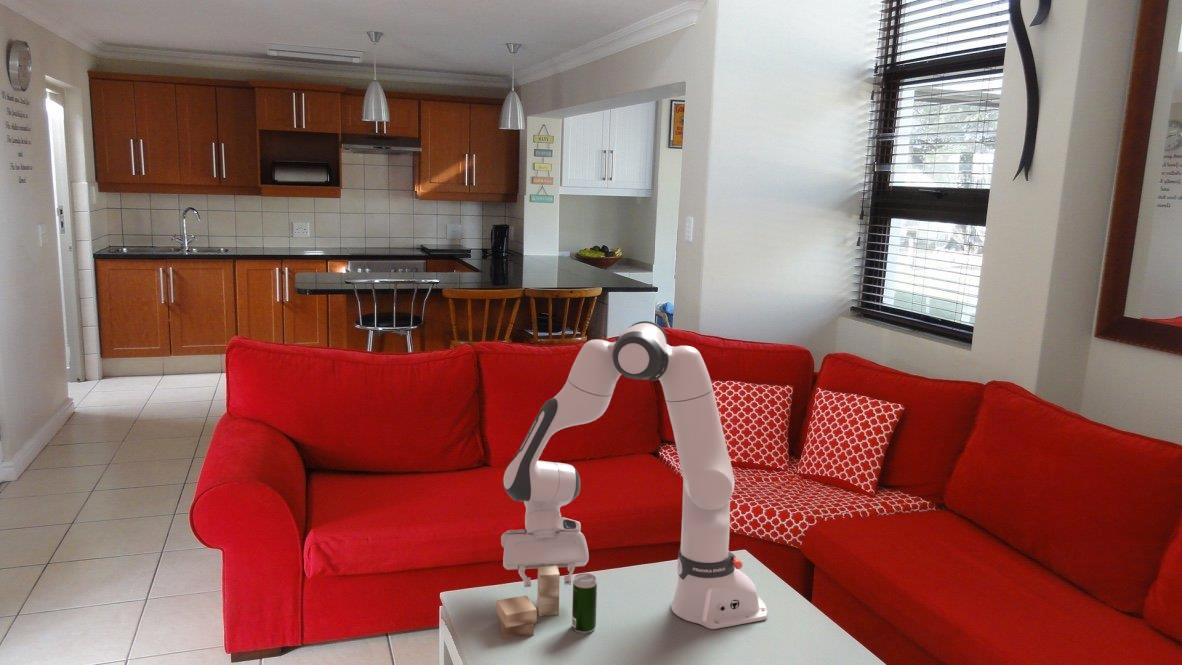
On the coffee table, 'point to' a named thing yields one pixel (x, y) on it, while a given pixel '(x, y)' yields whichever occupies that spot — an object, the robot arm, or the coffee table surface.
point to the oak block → (516, 611)
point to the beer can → (584, 603)
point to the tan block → (548, 590)
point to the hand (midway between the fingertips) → (547, 585)
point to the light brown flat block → (516, 630)
